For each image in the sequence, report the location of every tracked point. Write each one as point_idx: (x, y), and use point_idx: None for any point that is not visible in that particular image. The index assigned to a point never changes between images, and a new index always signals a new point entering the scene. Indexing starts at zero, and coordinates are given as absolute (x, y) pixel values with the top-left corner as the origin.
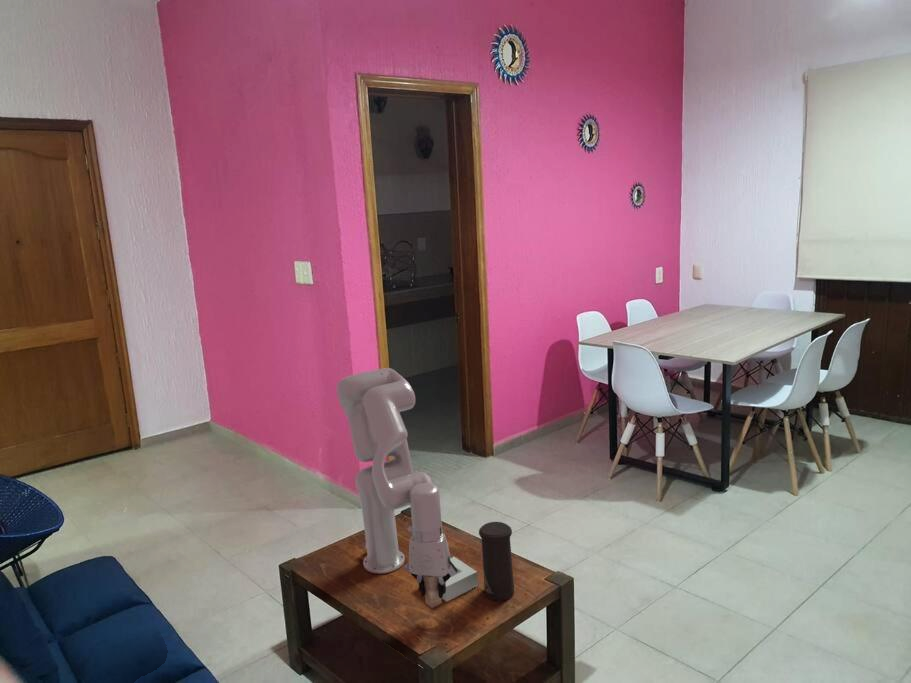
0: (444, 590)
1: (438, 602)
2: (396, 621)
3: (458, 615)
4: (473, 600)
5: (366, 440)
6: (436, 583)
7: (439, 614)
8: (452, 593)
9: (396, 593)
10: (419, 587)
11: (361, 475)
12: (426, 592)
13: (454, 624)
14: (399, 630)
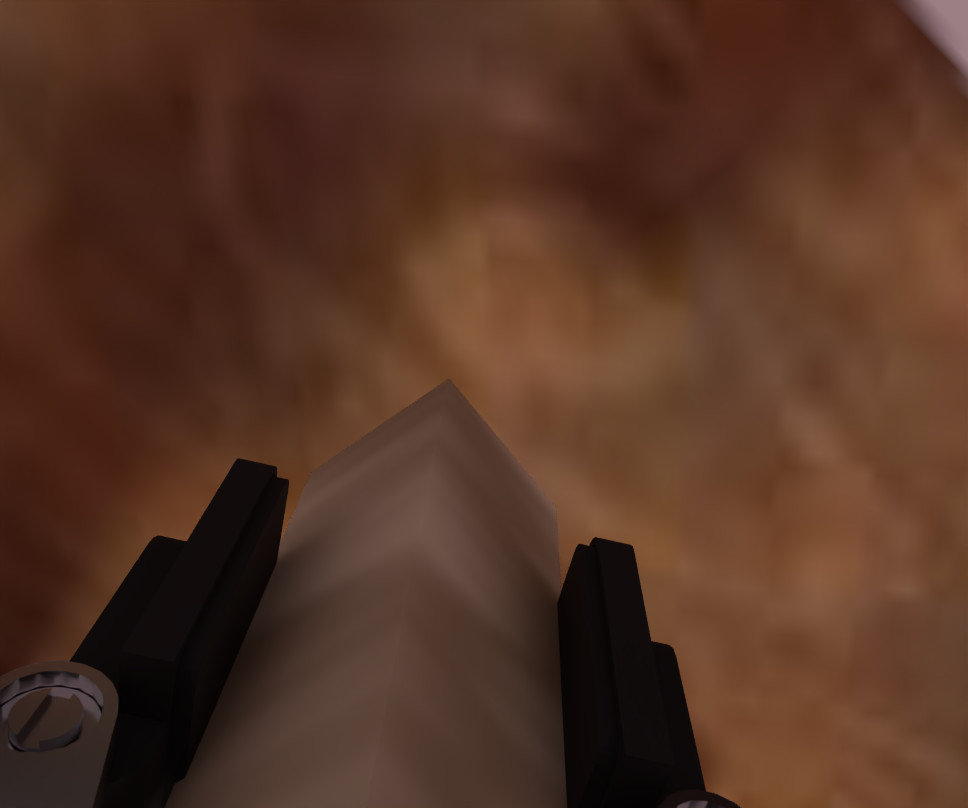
0: (131, 578)
1: (346, 462)
2: (929, 370)
3: (178, 397)
4: (60, 611)
5: None
6: (252, 731)
7: None
8: None
9: (869, 783)
10: (675, 703)
11: None
12: (530, 604)
13: (199, 238)
14: (915, 191)
